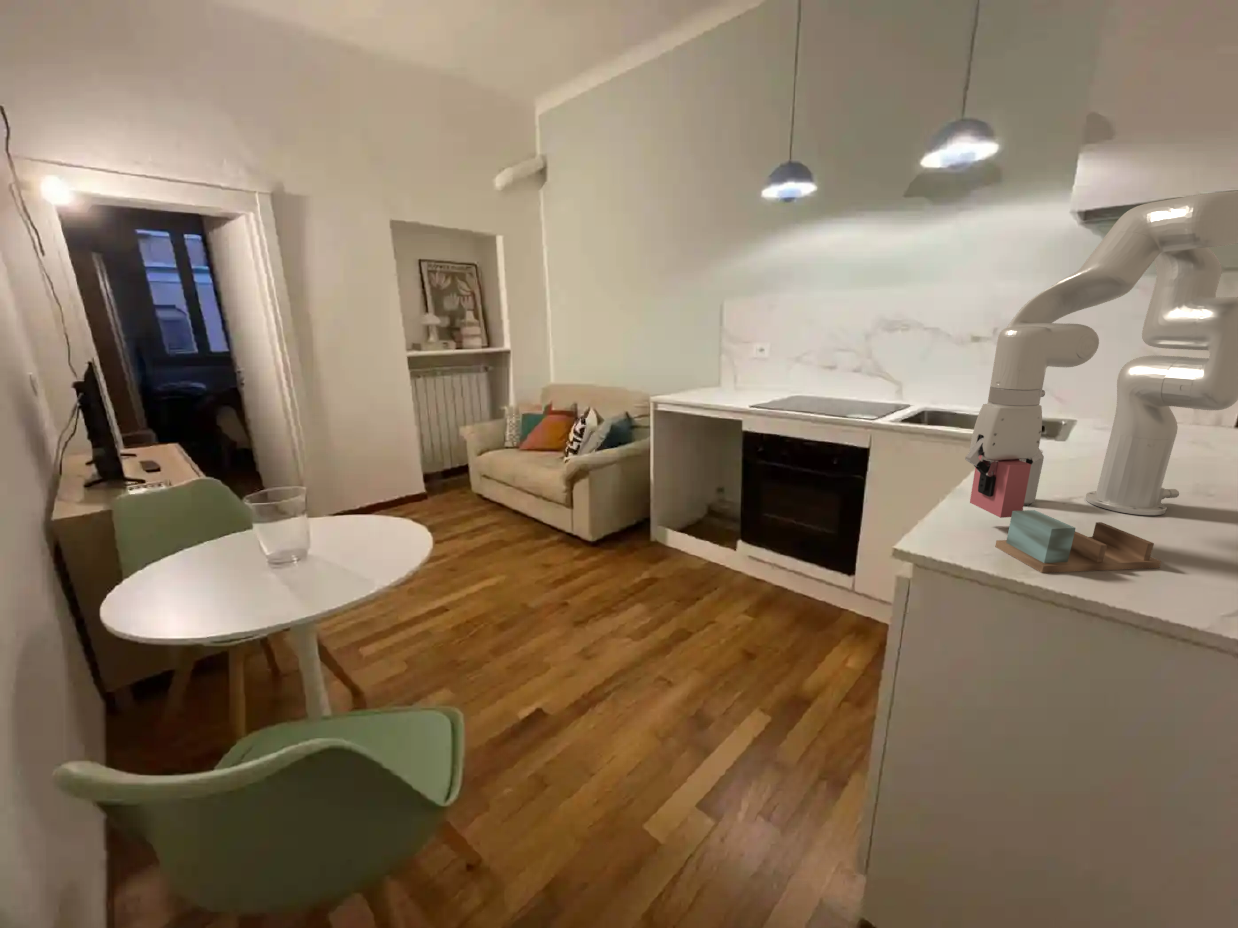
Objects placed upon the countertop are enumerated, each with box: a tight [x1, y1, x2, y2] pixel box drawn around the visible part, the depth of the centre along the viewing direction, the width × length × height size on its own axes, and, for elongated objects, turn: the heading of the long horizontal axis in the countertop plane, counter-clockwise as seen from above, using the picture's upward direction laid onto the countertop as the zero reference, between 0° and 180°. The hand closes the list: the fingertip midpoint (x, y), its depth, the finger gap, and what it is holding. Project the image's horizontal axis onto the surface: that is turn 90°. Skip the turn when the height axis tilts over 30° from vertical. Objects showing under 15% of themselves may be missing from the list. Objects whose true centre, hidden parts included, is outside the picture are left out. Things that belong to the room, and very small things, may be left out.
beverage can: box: [1024, 449, 1045, 506], centre depth 114 cm, size 6×6×12 cm
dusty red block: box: [969, 455, 1031, 519], centre depth 98 cm, size 4×8×10 cm, turn 3°
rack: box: [995, 509, 1162, 574], centre depth 88 cm, size 20×10×7 cm, turn 93°
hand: (997, 492), depth 98 cm, fingers closed on dusty red block, 4 cm apart
